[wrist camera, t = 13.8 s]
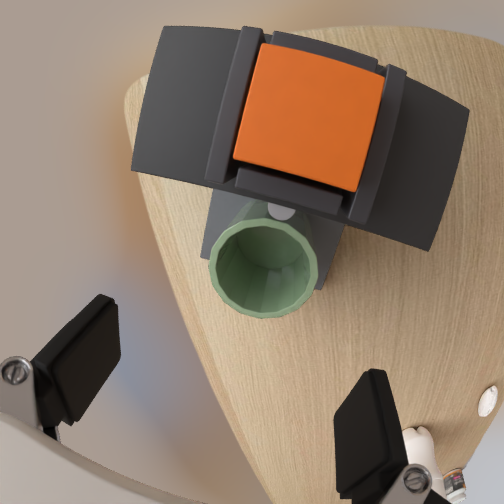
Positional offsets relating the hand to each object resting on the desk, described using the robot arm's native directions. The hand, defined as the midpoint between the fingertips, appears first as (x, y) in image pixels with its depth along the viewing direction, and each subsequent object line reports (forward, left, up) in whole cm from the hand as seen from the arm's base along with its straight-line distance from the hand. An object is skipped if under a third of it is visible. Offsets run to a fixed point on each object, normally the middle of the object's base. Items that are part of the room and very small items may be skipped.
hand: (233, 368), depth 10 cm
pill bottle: (+48, +62, -19) cm, 81 cm away
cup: (+1, 0, -17) cm, 17 cm away
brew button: (-8, 0, -2) cm, 8 cm away
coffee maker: (-3, 0, -18) cm, 19 cm away
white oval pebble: (+18, +43, -19) cm, 50 cm away
